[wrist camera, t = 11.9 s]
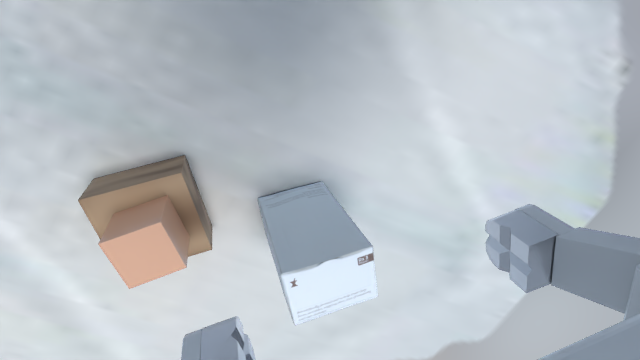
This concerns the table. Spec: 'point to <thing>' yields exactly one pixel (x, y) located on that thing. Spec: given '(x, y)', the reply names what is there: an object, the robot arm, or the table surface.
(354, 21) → the table surface
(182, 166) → the walnut block
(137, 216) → the terracotta cube
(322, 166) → the table surface
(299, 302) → the skincare box
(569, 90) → the table surface
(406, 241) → the table surface
